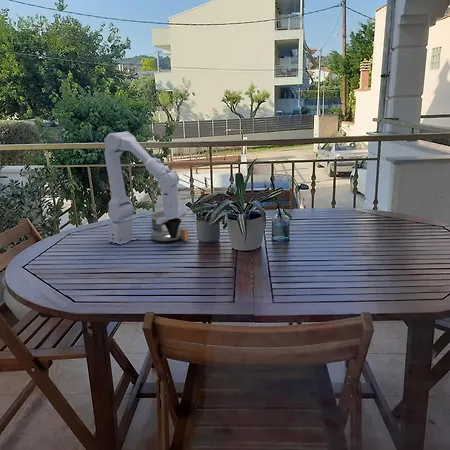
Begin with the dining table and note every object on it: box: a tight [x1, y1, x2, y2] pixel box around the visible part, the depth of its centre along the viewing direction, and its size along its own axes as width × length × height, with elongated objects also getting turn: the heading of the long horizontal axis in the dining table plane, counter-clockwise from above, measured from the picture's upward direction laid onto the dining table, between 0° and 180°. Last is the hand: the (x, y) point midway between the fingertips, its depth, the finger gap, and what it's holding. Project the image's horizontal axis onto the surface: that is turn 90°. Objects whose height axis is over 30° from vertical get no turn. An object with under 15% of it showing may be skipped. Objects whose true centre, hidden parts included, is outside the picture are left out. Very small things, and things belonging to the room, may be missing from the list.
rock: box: [151, 210, 180, 230], centre depth 184 cm, size 13×6×15 cm
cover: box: [162, 225, 169, 235], centre depth 166 cm, size 6×6×3 cm
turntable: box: [150, 227, 190, 242], centre depth 165 cm, size 15×18×4 cm
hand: (173, 237), depth 156 cm, fingers closed
